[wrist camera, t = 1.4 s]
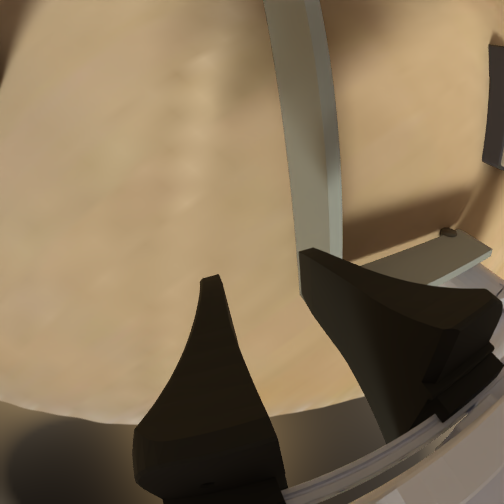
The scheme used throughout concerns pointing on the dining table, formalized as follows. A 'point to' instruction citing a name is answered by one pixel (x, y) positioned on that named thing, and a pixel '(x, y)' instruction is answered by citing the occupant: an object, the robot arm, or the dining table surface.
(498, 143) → the calculator
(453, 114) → the dining table surface
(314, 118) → the grey u-shaped barrier
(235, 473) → the robot arm
